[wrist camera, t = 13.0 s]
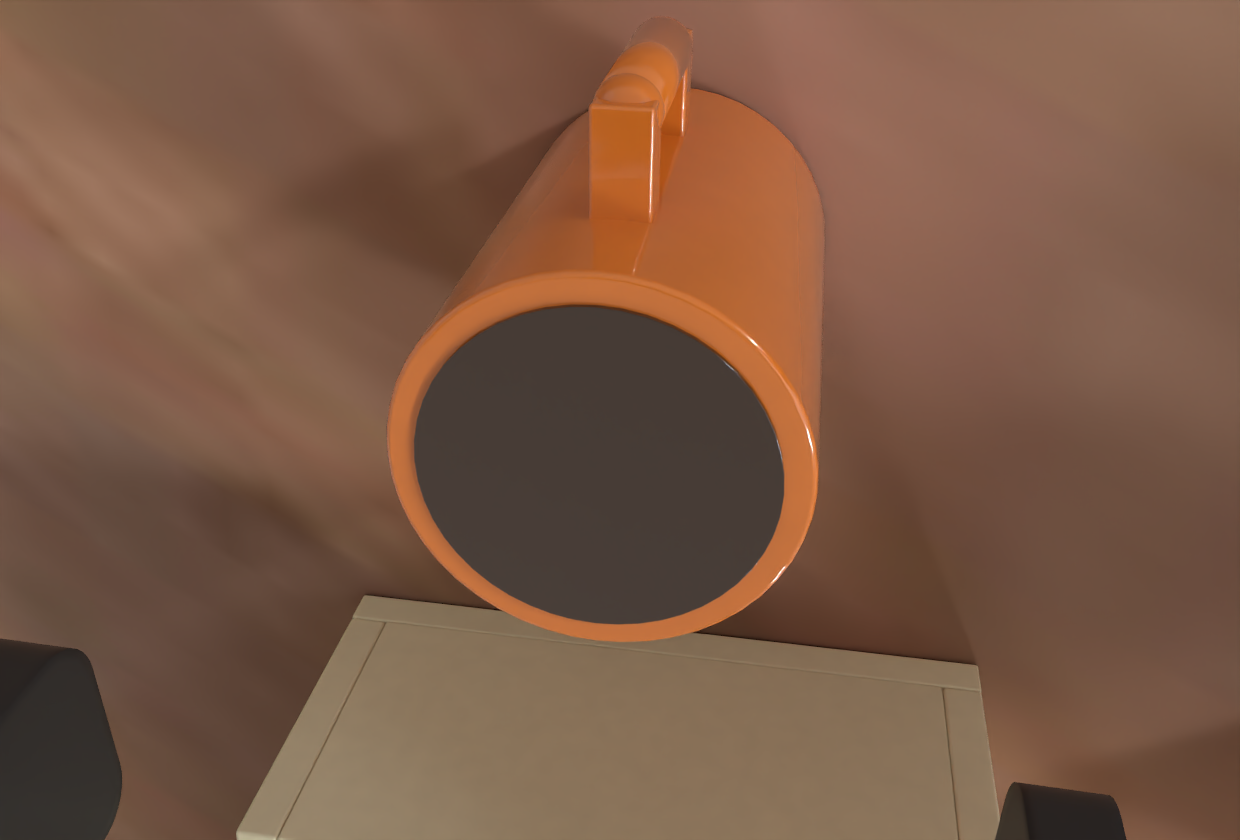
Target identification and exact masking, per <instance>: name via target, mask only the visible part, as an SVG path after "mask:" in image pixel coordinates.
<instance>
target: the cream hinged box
mask: <svg viewBox="0 0 1240 840" xmlns="http://www.w3.org/2000/svg"><path fill="white" fill-rule="evenodd" d="M999 822H1000V815H999V809H998V802H997V795H996V788H995V782H994V775H993V768H992V761H991V754H990V748H989V741H988V734H987V727H986V721H985V714H984V707H983V700H982V695H981V684H980V677H979V671H978V666H976V665H970V664H961V663H953V662H944V661H935V660H927V659H918V658H909V657H900V656H892V655H883V654H874V653H865V652H857V651H848V650H839V649H830V648H822V647H813V646H804V645H796V644H787V643H778V642H769V641H761V640H752V639H743V638H734V637H726V636H717V635H708V634H700V633H688V634H684V635H681V636H677V637H673V638H667V639H660V640H653V641H642V642H610V641H596V640H590V639H584V638H578V637H572V636H568V635H564V634H560V633H556V632H553V631H549V630H546V629H543V628H540V627H538V626H535V625H532V624H530V623H527V622H524V621H522V620H520V619H518V618H516V617H514V616H512V615H510V614H508V613H506V612H504V611H499V610H490V609H481V608H473V607H464V606H455V605H446V604H438V603H429V602H420V601H411V600H403V599H394V598H385V597H377V596H368V595H365V596H363V598H362V600H361V602H360V604H359V606H358V607H357V609H356V611H355V613H354V615H353V619H352V620H351V621H350V623H349V625H348V627H347V629H346V631H345V632H344V634H343V636H342V638H341V640H340V642H339V644H338V645H337V647H336V649H335V651H334V653H333V655H332V656H331V658H330V660H329V662H328V664H327V666H326V667H325V669H324V671H323V673H322V675H321V677H320V678H319V680H318V682H317V684H316V686H315V688H314V689H313V691H312V693H311V695H310V697H309V699H308V701H307V702H306V704H305V706H304V708H303V710H302V712H301V713H300V715H299V717H298V719H297V721H296V723H295V724H294V726H293V728H292V730H291V732H290V734H289V735H288V737H287V739H286V741H285V743H284V745H283V746H282V748H281V750H280V752H279V754H278V756H277V758H276V759H275V761H274V763H273V765H272V767H271V769H270V770H269V772H268V774H267V776H266V778H265V780H264V781H263V783H262V785H261V787H260V789H259V791H258V792H257V794H256V796H255V798H254V800H253V802H252V803H251V805H250V807H249V809H248V811H247V813H246V815H245V816H244V818H243V820H242V822H241V824H240V826H239V827H238V829H237V832H236V836H237V840H995V837H996V833H997V830H998V826H999Z"/></svg>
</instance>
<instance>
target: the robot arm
mask: <svg viewBox="0 0 1240 840" xmlns="http://www.w3.org/2000/svg"><path fill="white" fill-rule="evenodd" d="M121 790H122V771H121V766H120V762H119V758H118V755H117V751H116V748H115V744H114V741H113V738H112V734H111V731H110V727H109V724H108V720H107V717H106V713H105V710H104V706H103V703H102V699H101V696H100V692H99V689H98V685H97V682H96V678H95V675H94V671H93V668H92V665H91V663H90V660H89V659H88V657H87V656H86V655H85V654H84V653H83V652H82V651H80V650H78V649H72V648H65V647H58V646H50V645H43V644H36V643H29V642H21V641H14V640H7V639H0V840H104V839H105V838H106V836H107V834H108V832H109V830H110V828H111V826H112V824H113V821H114V819H115V816H116V813H117V810H118V806H119V802H120V797H121ZM995 840H1126V836H1125V832H1124V827H1123V823H1122V819H1121V815H1120V812H1119V809H1118V806H1117V804H1116V802H1115V800H1114V799H1113V798H1112V797H1111V796H1110V795H1103V794H1096V793H1089V792H1082V791H1074V790H1067V789H1060V788H1053V787H1046V786H1038V785H1031V784H1024V783H1017V782H1014V783H1012V784H1011V786H1010V787H1009V790H1008V792H1007V795H1006V799H1005V802H1004V806H1003V810H1002V814H1001V818H1000V822H999V826H998V830H997V833H996V837H995Z"/></svg>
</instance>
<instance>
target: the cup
mask: <svg viewBox="0 0 1240 840" xmlns="http://www.w3.org/2000/svg"><path fill="white" fill-rule="evenodd" d="M692 43H693V32H692V30H690V29H686V28H685V27H684V26H683V25H682V24H681V23H680V22H678V21H677V20H675V19H673V18H670V17H664V16H660V17H654V18H651V19H649V20H647V21H645V22H644V23H643V24H641V25H640V26H639V27H638V29H637V30H636V32H635V33H634V35H633V36H632V38H631V39H630V41H629V42H628V44H627V45H626V47H625V48H624V50H623V51H622V53H621V54H620V56H619V57H618V59H617V60H616V62H615V63H614V65H613V66H612V68H611V69H610V71H609V72H608V74H607V75H606V77H605V78H604V80H603V81H602V83H601V84H600V86H599V88H598V89H597V91H596V93H595V95H594V98H593V101H592V102H591V104H590V106H589V111H587V112H585V113H584V114H582V115H581V116H580V117H579V118H577V119H576V120H575V121H574V122H573V123H571V124H570V125H569V126H568V127H567V128H566V129H565V130H564V131H563V132H562V133H561V135H560V136H559V137H558V138H557V139H556V140H555V141H554V143H553V144H552V146H551V147H550V149H549V150H548V151H547V153H546V154H545V156H544V157H543V159H542V160H541V162H540V163H539V165H538V166H537V168H536V169H535V171H534V172H533V174H532V175H531V176H530V178H529V179H528V181H527V182H526V184H525V185H524V187H523V188H522V190H521V191H520V193H519V194H518V196H517V197H516V198H515V200H514V201H513V203H512V204H511V206H510V207H509V209H508V210H507V212H506V213H505V215H504V216H503V218H502V219H501V220H500V222H499V223H498V225H497V226H496V228H495V229H494V231H493V232H492V234H491V235H490V237H489V238H488V240H487V241H486V243H485V244H484V245H483V247H482V248H481V250H480V251H479V253H478V254H477V256H476V257H475V259H474V260H473V262H472V263H471V265H470V266H469V267H468V269H467V270H466V272H465V273H464V275H463V276H462V278H461V279H460V281H459V282H458V284H457V285H456V287H455V288H454V289H453V291H452V292H451V294H450V295H449V297H448V298H447V300H446V301H445V303H444V304H443V306H442V307H441V309H440V310H439V312H438V313H437V314H436V316H435V317H434V319H433V320H432V322H431V323H430V325H429V326H428V328H427V329H426V331H425V332H424V334H423V335H422V336H421V338H420V339H419V341H418V342H417V344H416V345H415V347H414V348H413V350H412V351H411V353H410V354H409V356H408V357H407V359H406V361H405V363H404V365H403V367H402V369H401V371H400V373H399V376H398V378H397V380H396V383H395V386H394V390H393V393H392V397H391V400H390V404H389V412H388V420H387V453H388V459H389V464H390V470H391V476H392V479H393V482H394V486H395V489H396V492H397V495H398V498H399V501H400V503H401V505H402V507H403V509H404V511H405V513H406V515H407V517H408V520H409V522H410V523H411V525H412V526H413V528H414V530H415V531H416V533H417V534H418V536H419V537H420V539H421V540H422V542H423V543H424V545H425V546H426V547H427V548H428V549H429V551H430V552H431V553H432V554H433V556H434V557H435V558H436V559H437V560H438V562H439V563H440V564H441V565H442V566H443V567H444V568H445V569H446V570H448V571H449V572H450V573H451V574H452V575H453V576H454V577H455V578H456V579H457V580H458V581H459V582H461V583H462V584H463V585H464V586H466V587H467V588H468V589H469V590H471V591H472V592H473V593H475V594H476V595H477V596H479V597H480V598H482V599H484V600H485V601H487V602H488V603H490V604H491V605H493V606H495V607H496V608H498V609H500V610H502V611H504V612H506V613H508V614H510V615H512V616H514V617H516V618H518V619H520V620H522V621H524V622H527V623H530V624H532V625H535V626H538V627H540V628H543V629H546V630H549V631H553V632H556V633H560V634H564V635H568V636H572V637H578V638H584V639H590V640H596V641H610V642H642V641H653V640H660V639H667V638H673V637H677V636H681V635H684V634H688V633H692V632H696V631H699V630H701V629H704V628H706V627H709V626H711V625H714V624H716V623H719V622H721V621H723V620H725V619H726V618H728V617H730V616H732V615H734V614H736V613H737V612H739V611H741V610H742V609H744V608H745V607H747V606H748V605H749V604H751V603H752V602H753V601H755V600H756V599H758V598H759V597H760V596H761V595H762V594H763V593H764V592H765V591H766V590H768V589H769V588H770V587H771V586H772V585H773V584H774V583H775V582H776V581H777V580H778V579H779V578H780V576H781V575H782V574H783V572H784V571H785V570H786V569H787V567H788V566H789V565H790V563H791V562H792V561H793V560H794V558H795V556H796V554H797V552H798V551H799V549H800V547H801V545H802V543H803V542H804V540H805V538H806V535H807V532H808V529H809V527H810V524H811V521H812V519H813V515H814V510H815V505H816V500H817V495H818V477H819V443H820V405H821V367H822V329H823V291H824V253H825V223H824V214H823V208H822V204H821V200H820V196H819V192H818V189H817V187H816V184H815V182H814V179H813V177H812V174H811V172H810V171H809V169H808V167H807V165H806V164H805V162H804V160H803V158H802V157H801V155H800V154H799V153H798V151H797V150H796V149H795V147H794V146H793V145H792V144H791V142H790V141H789V140H788V139H787V138H786V137H785V136H784V135H783V134H782V133H781V132H780V131H779V130H778V129H777V128H776V127H775V126H774V125H773V124H772V123H770V122H769V121H768V120H766V119H765V118H764V117H762V116H761V115H760V114H758V113H757V112H755V111H753V110H752V109H750V108H748V107H746V106H744V105H743V104H741V103H739V102H737V101H734V100H732V99H729V98H727V97H724V96H722V95H719V94H715V93H711V92H707V91H703V90H700V89H692V88H691V67H692Z"/></svg>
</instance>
